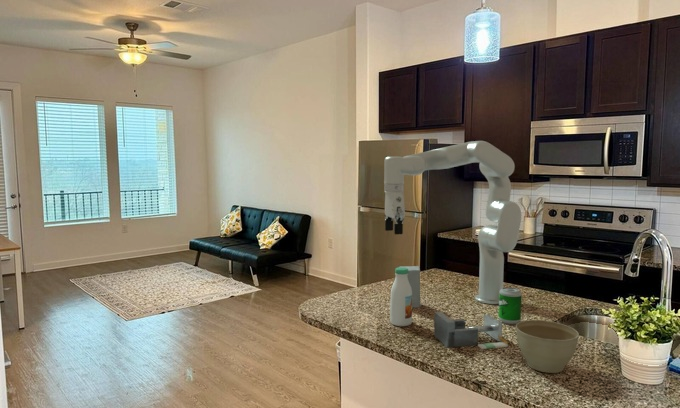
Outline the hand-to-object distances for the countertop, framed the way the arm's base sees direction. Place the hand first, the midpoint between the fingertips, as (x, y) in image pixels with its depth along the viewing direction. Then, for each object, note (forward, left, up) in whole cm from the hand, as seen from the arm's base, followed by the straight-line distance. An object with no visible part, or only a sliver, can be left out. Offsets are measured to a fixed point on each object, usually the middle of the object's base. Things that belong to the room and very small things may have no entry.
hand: (393, 232), depth 178 cm
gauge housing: (-9, +35, -31) cm, 48 cm away
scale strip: (-18, +42, -31) cm, 55 cm away
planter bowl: (-25, +58, -31) cm, 71 cm away
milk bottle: (+2, +16, -31) cm, 35 cm away
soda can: (-37, +23, -31) cm, 53 cm away
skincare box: (-8, -2, -31) cm, 32 cm away
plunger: (-19, +37, -30) cm, 51 cm away
